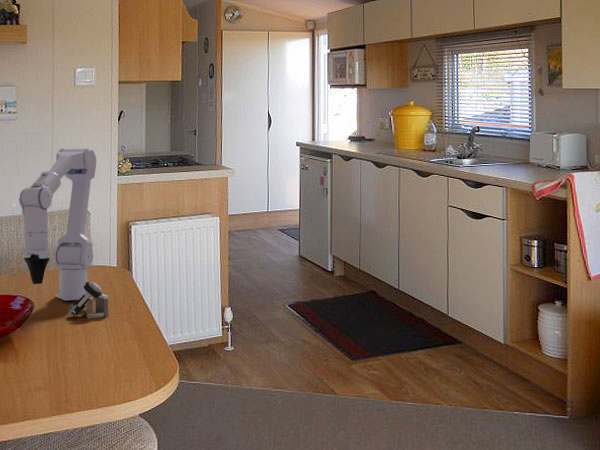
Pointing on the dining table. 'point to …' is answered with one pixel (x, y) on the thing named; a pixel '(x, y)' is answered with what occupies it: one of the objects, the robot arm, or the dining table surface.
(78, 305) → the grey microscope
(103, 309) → the grey l-shaped bracket
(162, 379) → the dining table surface
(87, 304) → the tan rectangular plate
